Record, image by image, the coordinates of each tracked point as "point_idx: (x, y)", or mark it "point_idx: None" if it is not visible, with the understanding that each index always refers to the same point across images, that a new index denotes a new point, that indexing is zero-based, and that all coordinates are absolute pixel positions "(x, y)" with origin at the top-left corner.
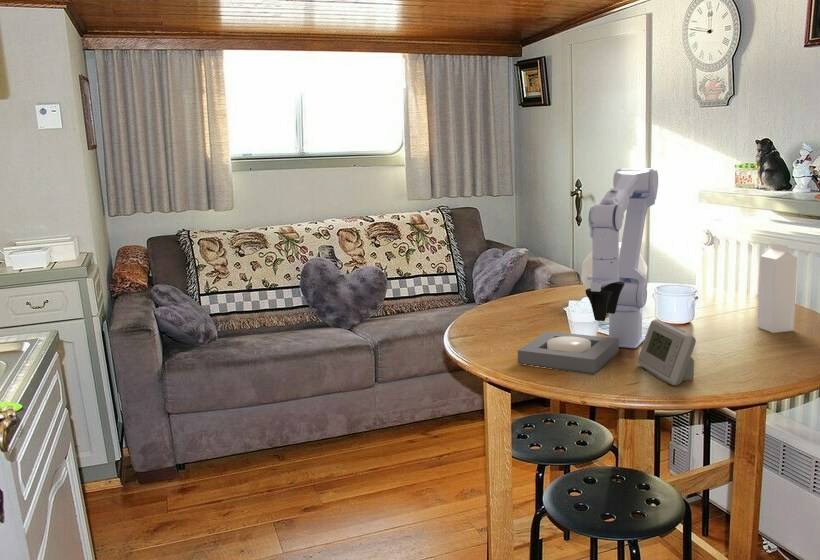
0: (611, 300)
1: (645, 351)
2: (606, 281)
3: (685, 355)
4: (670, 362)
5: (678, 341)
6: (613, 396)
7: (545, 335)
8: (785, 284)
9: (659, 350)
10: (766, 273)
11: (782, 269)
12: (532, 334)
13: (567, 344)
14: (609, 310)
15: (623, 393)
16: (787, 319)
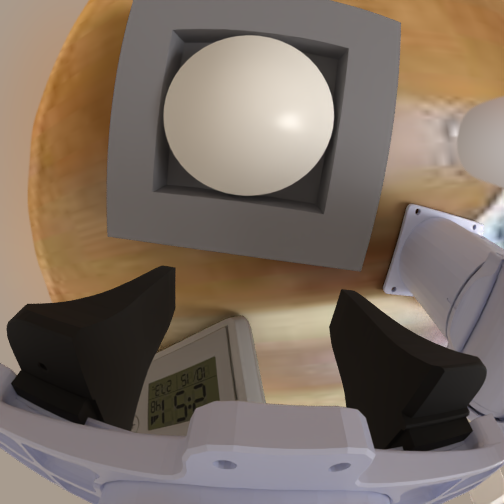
0: (353, 361)
1: (216, 354)
2: (73, 491)
3: None
4: None
5: None
6: (45, 278)
7: (345, 18)
8: None
9: (173, 390)
10: (488, 482)
11: (472, 500)
12: (455, 10)
13: (214, 114)
14: (339, 316)
15: (63, 293)
16: None
